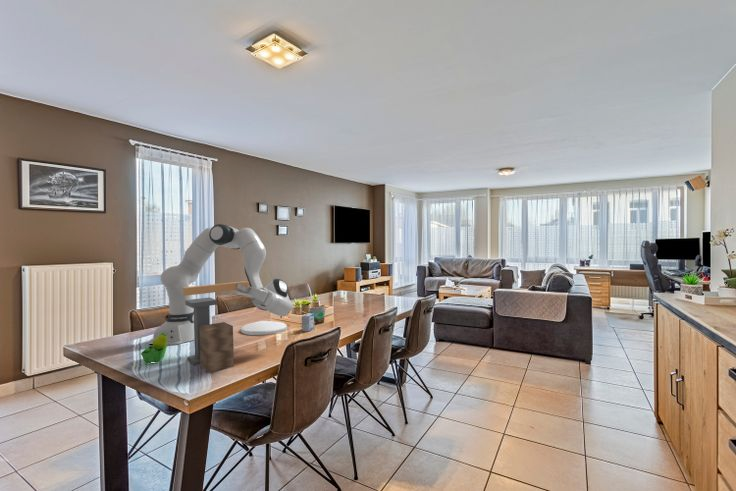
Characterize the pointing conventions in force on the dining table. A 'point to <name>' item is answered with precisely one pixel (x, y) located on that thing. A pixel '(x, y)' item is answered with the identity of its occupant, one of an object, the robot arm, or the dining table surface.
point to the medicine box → (308, 322)
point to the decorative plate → (263, 328)
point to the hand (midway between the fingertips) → (234, 285)
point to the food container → (318, 314)
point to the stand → (199, 322)
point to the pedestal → (216, 346)
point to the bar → (213, 288)
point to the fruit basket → (155, 350)
